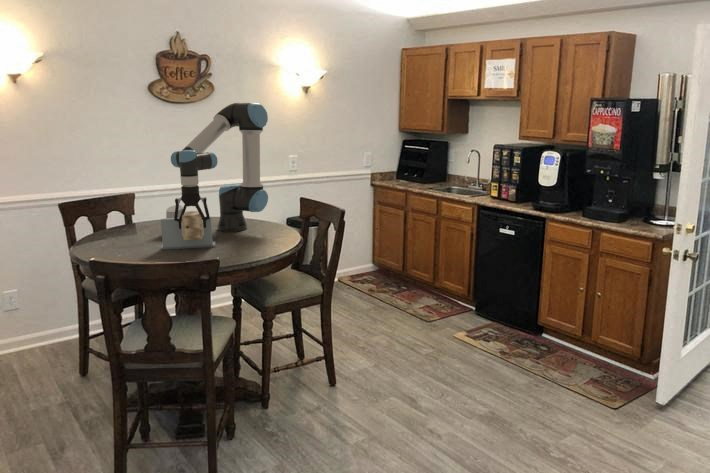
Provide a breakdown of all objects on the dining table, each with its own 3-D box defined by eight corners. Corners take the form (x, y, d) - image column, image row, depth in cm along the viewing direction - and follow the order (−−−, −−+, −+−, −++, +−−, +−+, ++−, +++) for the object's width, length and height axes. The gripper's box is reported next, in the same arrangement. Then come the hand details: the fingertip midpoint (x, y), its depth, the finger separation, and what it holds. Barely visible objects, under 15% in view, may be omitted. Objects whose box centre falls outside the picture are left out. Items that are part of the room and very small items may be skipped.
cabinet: (203, 234, 272) (201, 210, 269) (202, 239, 261) (200, 215, 259) (185, 234, 270) (183, 211, 268) (183, 240, 260) (181, 216, 257)
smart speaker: (162, 234, 295) (160, 207, 292) (174, 230, 304) (172, 204, 300) (178, 236, 292) (176, 208, 289) (189, 232, 300) (187, 205, 297)
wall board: (215, 243, 277) (213, 214, 273) (214, 246, 271) (213, 217, 268) (162, 246, 272) (159, 217, 269) (160, 249, 266) (158, 219, 263)
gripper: (214, 183, 265) (217, 232, 270) (166, 184, 261) (170, 234, 266) (213, 185, 257) (216, 236, 263) (164, 187, 253) (168, 238, 259)
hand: (193, 235), depth 264 cm, fingers closed on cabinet, 8 cm apart
